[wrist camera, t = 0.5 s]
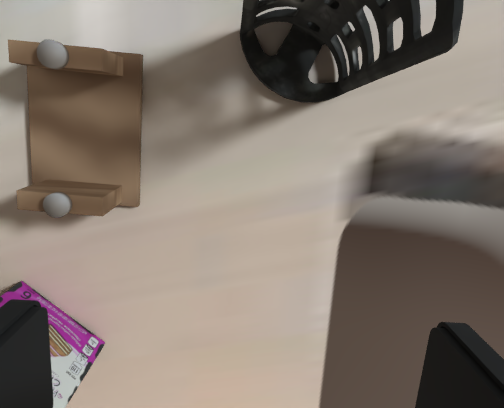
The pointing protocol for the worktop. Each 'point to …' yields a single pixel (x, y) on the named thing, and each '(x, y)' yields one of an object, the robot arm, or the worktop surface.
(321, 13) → the holder
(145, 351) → the worktop surface
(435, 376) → the robot arm
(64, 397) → the candy bar box
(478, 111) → the worktop surface
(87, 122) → the cradle
